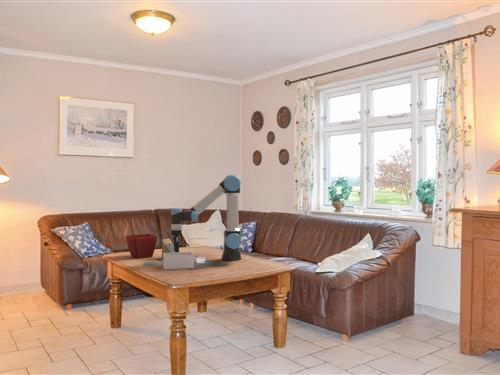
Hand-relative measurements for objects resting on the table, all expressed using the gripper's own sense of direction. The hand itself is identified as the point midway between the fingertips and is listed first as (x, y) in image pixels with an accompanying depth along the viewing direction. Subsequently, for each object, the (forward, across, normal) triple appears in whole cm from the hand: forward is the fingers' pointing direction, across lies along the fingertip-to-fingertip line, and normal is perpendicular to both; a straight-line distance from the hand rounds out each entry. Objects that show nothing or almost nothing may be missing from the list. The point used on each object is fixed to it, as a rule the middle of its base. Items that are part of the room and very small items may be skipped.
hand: (176, 261), depth 326 cm
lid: (+2, 0, -10) cm, 10 cm away
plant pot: (+2, -35, -24) cm, 43 cm away
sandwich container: (+2, -20, -1) cm, 20 cm away
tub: (+2, +18, 0) cm, 18 cm away
